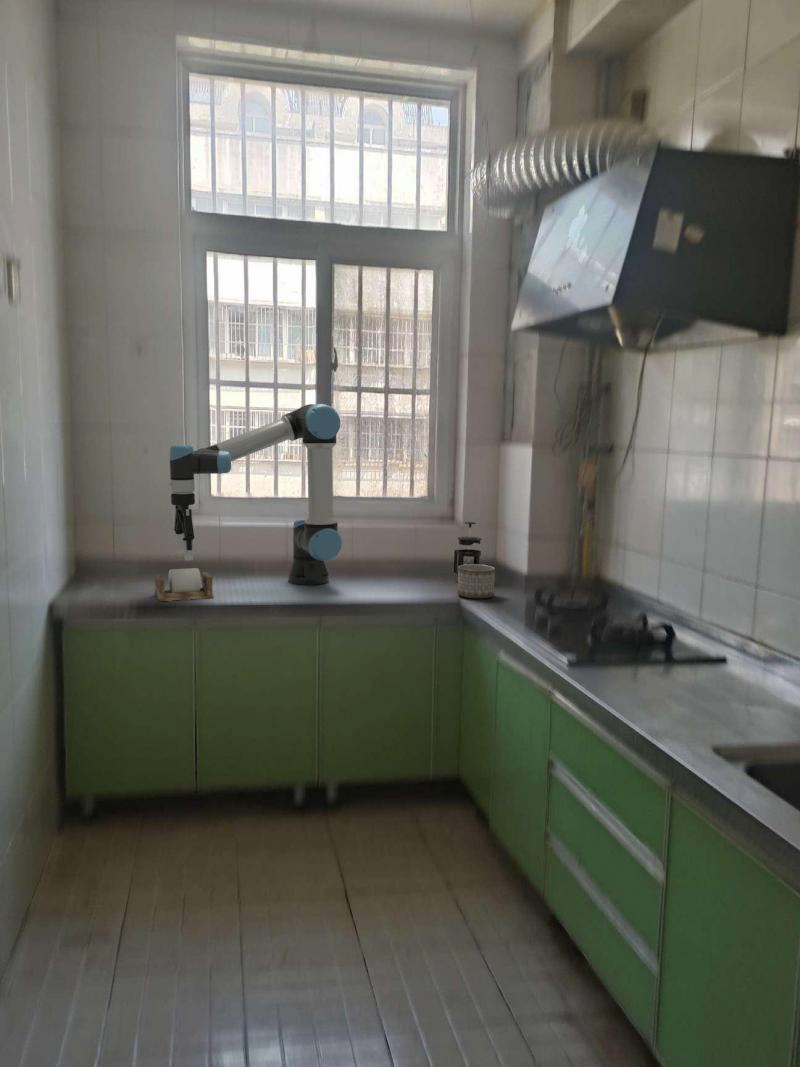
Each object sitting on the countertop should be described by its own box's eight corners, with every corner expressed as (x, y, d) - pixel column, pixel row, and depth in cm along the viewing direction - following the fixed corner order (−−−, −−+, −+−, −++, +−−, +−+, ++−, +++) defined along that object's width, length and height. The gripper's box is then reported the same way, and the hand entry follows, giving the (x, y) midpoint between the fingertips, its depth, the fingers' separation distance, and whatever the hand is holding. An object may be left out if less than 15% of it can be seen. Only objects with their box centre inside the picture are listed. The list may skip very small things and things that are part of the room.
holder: (205, 591, 282) (205, 571, 281) (213, 598, 272) (213, 577, 271) (154, 595, 275) (154, 574, 274) (160, 602, 265) (160, 580, 264)
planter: (454, 592, 292) (455, 564, 291) (488, 592, 294) (490, 564, 292) (461, 600, 280) (462, 570, 278) (497, 600, 281) (498, 570, 280)
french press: (486, 583, 311) (489, 522, 308) (471, 586, 304) (473, 524, 301) (462, 578, 319) (464, 519, 316) (446, 581, 312) (449, 521, 309)
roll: (195, 589, 279) (195, 566, 278) (201, 594, 272) (200, 570, 271) (168, 591, 275) (168, 567, 274) (173, 595, 268) (172, 571, 267)
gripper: (164, 489, 278) (166, 551, 281) (178, 496, 256) (180, 563, 259) (186, 488, 281) (188, 550, 285) (202, 495, 259) (204, 562, 262)
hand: (184, 556), depth 272 cm, fingers open, 13 cm apart
